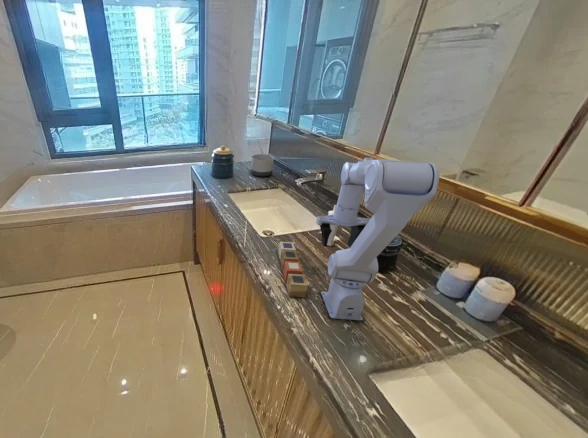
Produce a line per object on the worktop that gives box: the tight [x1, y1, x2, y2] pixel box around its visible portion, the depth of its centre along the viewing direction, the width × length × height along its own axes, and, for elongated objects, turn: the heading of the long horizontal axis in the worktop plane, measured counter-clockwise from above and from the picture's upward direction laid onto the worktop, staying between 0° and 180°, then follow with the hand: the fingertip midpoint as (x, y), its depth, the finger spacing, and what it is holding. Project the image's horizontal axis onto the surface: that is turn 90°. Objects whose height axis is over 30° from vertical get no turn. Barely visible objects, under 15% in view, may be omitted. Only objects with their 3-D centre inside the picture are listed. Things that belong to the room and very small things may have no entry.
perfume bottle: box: [327, 204, 340, 247], centre depth 100 cm, size 5×4×15 cm
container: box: [376, 234, 404, 272], centre depth 92 cm, size 13×13×10 cm
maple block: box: [285, 274, 309, 298], centre depth 81 cm, size 4×4×5 cm
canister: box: [211, 145, 235, 179], centre depth 165 cm, size 13×13×18 cm
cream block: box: [277, 241, 297, 261], centre depth 96 cm, size 4×4×5 cm
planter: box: [249, 153, 275, 178], centre depth 167 cm, size 13×13×10 cm
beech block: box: [279, 250, 300, 271], centre depth 91 cm, size 4×4×5 cm
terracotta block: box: [282, 261, 304, 283], centre depth 86 cm, size 4×4×5 cm
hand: (337, 245), depth 86 cm, fingers open, 7 cm apart
